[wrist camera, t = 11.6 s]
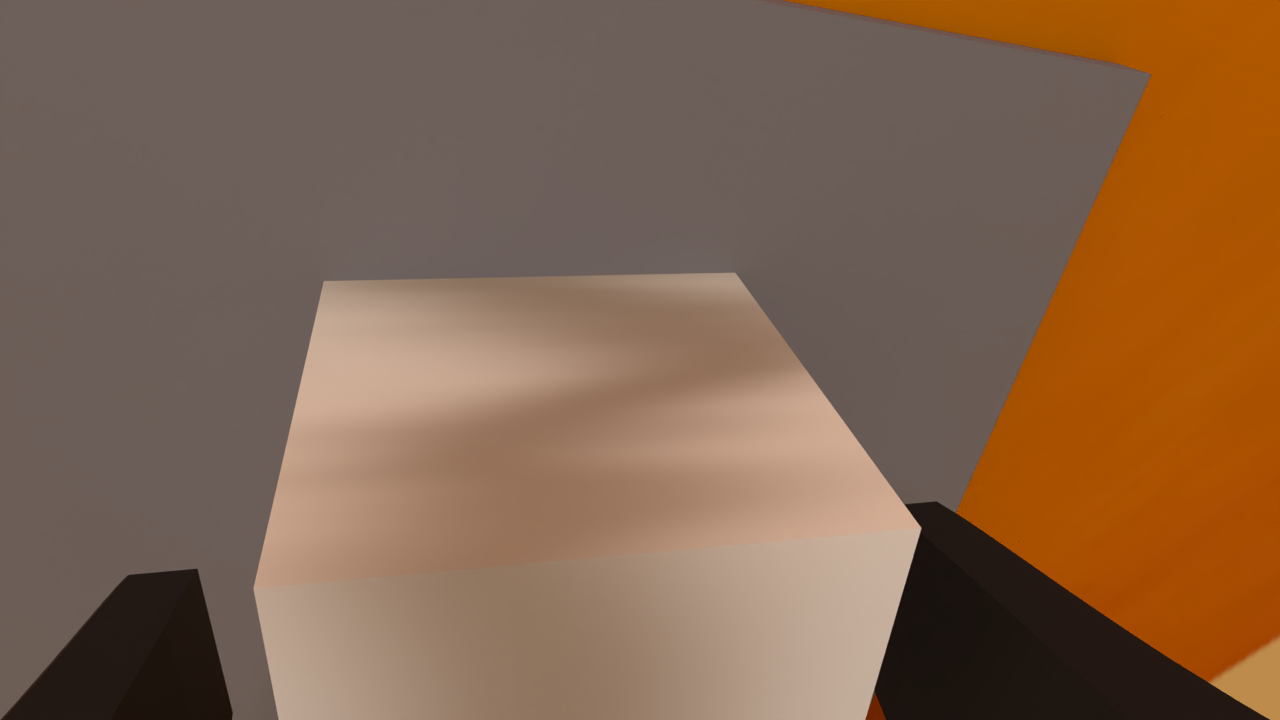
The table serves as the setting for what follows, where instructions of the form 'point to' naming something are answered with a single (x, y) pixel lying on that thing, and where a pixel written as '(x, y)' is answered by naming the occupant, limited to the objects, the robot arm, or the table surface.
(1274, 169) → the table surface
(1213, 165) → the table surface
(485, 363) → the whitewashed cube
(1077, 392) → the table surface
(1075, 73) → the charcoal mat
